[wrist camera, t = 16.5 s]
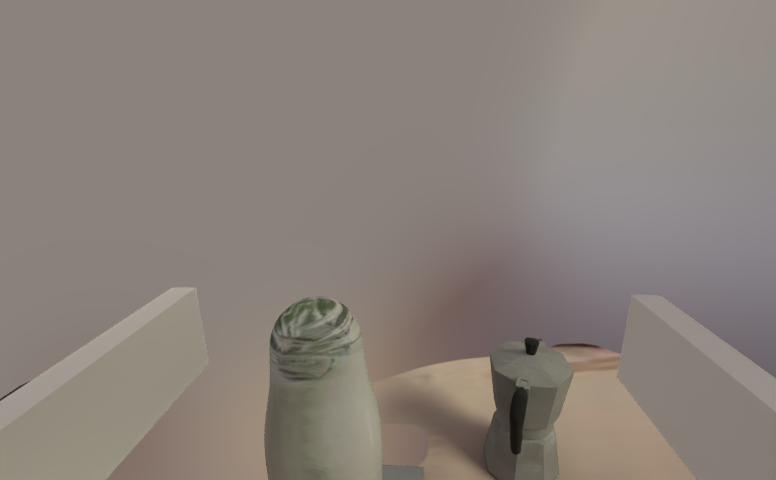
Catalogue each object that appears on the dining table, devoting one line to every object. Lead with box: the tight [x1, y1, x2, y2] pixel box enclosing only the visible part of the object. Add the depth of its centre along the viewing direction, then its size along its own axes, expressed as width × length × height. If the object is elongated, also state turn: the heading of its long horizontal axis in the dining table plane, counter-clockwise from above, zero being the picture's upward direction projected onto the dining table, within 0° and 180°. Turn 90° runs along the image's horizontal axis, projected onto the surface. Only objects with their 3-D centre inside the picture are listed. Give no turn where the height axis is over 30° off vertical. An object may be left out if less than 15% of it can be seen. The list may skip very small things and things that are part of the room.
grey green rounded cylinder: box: [264, 297, 382, 480], centre depth 35 cm, size 10×10×28 cm
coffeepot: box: [484, 337, 574, 480], centre depth 46 cm, size 15×9×18 cm, turn 153°
